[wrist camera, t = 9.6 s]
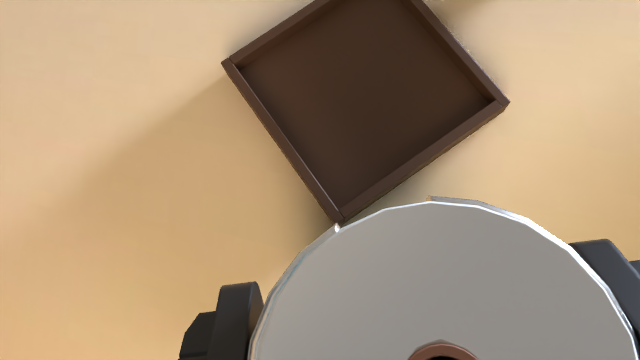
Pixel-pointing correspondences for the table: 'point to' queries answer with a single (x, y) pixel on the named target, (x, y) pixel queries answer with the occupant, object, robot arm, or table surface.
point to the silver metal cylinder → (441, 292)
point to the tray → (363, 95)
